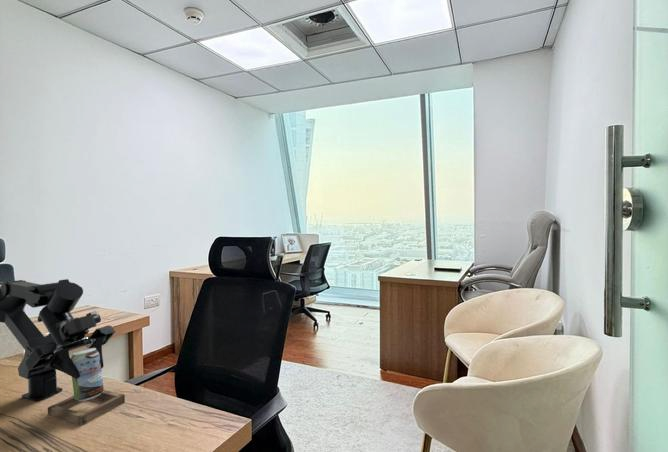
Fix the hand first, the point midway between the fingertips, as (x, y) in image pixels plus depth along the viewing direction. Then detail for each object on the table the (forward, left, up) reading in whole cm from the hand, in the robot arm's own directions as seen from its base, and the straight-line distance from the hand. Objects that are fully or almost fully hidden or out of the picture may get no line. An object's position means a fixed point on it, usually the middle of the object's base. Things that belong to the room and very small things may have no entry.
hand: (90, 372), depth 87 cm
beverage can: (-1, 0, -7) cm, 7 cm away
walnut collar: (-1, 0, -9) cm, 9 cm away
